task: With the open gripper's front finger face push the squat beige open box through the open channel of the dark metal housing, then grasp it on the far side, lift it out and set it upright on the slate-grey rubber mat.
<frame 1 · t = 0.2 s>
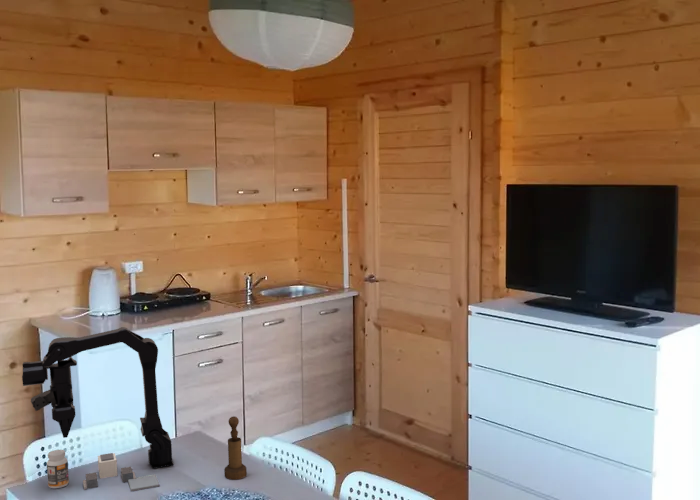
hand: (64, 432, 216), 14 cm above the table, fingers open, 9 cm apart
mat: (143, 483, 212), on the table
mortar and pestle: (235, 476, 217), on the table
beige open box: (108, 473, 220), on the table
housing: (109, 481, 214), on the table
pill bottle: (58, 485, 213), on the table
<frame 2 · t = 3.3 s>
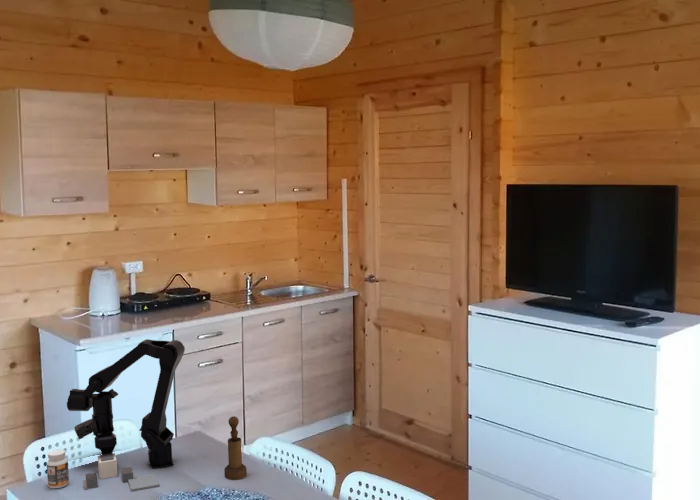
hand: (105, 459, 229), 1 cm above the table, fingers open, 8 cm apart
beige open box: (107, 473, 220), on the table, touching gripper
everything else where it was.
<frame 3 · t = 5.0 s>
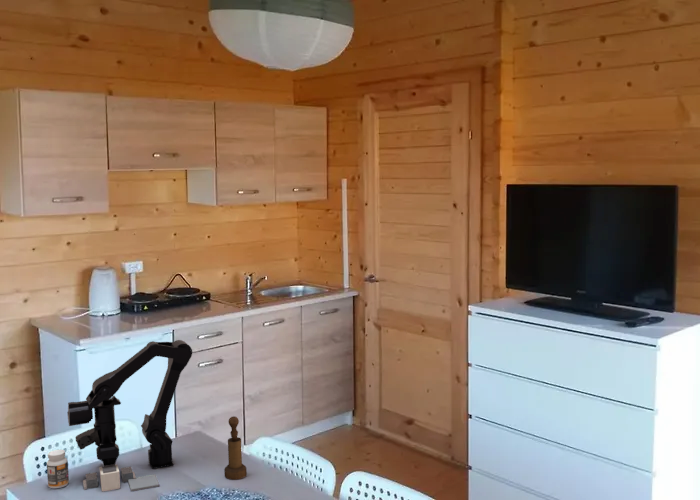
hand: (107, 470, 220), 1 cm above the table, fingers open, 8 cm apart
beige open box: (110, 486, 211), on the table, touching gripper
everything else where it was.
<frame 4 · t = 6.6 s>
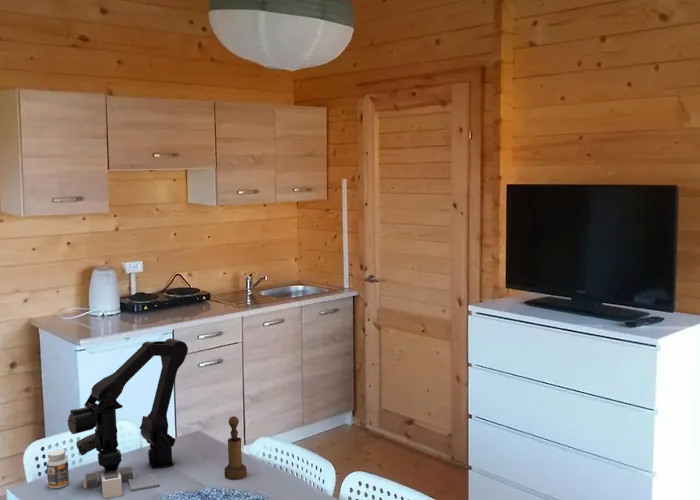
hand: (109, 476, 215), 1 cm above the table, fingers open, 9 cm apart
beige open box: (112, 492, 207), on the table, touching gripper
everything else where it was.
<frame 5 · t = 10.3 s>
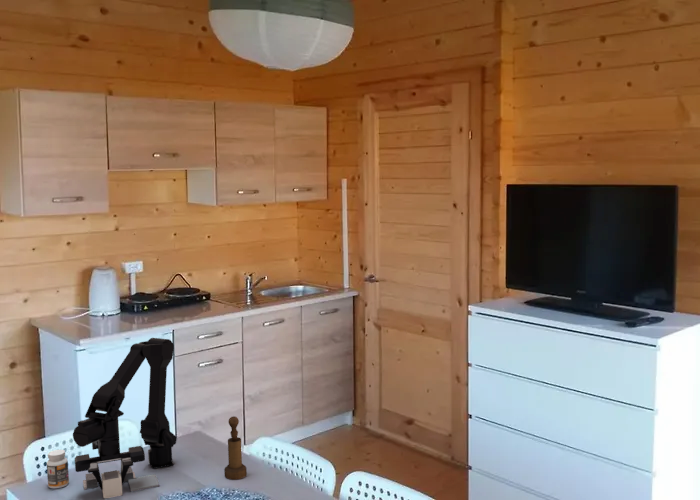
hand: (111, 487, 208), 1 cm above the table, fingers closed on beige open box, 5 cm apart
beige open box: (112, 492, 207), on the table, touching gripper
everything else where it was.
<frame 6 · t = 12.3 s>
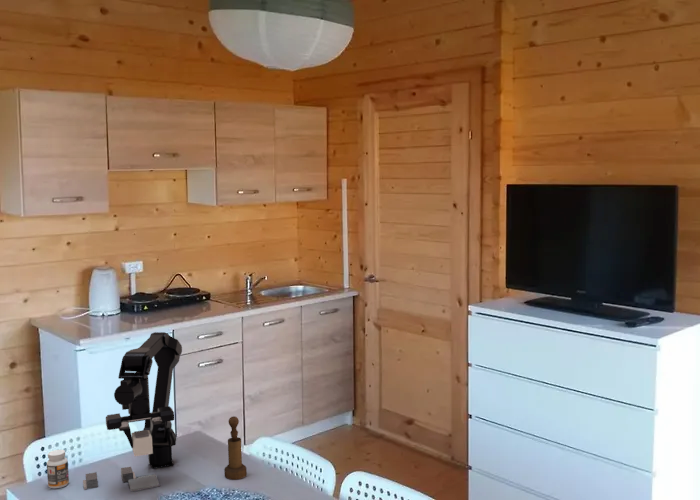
hand: (141, 446, 211), 11 cm above the table, fingers closed on beige open box, 5 cm apart
beige open box: (142, 451, 210), point 10 cm above the table, touching gripper
everything else where it was.
when the fingers open (3 cm above the table, at t = 14.2 s): beige open box stays where it is, resting on mat.
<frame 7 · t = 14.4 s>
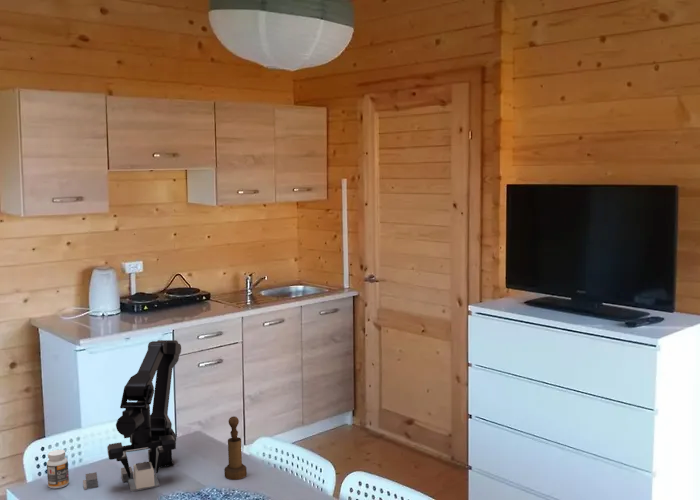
hand: (143, 475, 212), 3 cm above the table, fingers open, 7 cm apart
beige open box: (144, 483, 211), point 1 cm above the table, touching mat
everything else where it was.
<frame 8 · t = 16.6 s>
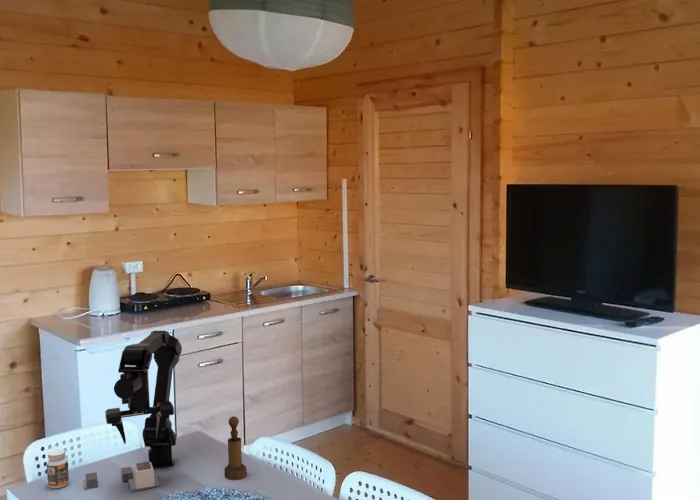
hand: (141, 440, 211), 13 cm above the table, fingers open, 9 cm apart
nothing on the table moved.
at the end: beige open box inside the target area on the mat (1.4 cm from its centre), point 0.6 cm above the mat's base; beige open box tilted 0°; the gripper is holding nothing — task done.
